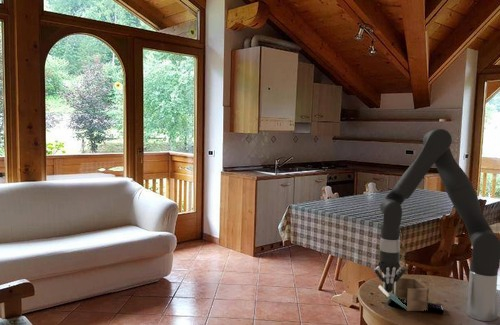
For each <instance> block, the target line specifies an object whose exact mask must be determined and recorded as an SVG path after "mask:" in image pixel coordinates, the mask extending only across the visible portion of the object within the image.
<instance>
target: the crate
mask: <svg viewBox="0 0 500 325" xmlns="http://www.w3.org/2000/svg"><path fill="white" fill-rule="evenodd" d="M429 290H430V289H429V288H428V287H426V285H424V284H423V283H422V282H420V281H419V280H418V279H416V278H414V277H404V278H403V277H400V279H399V280H398V281H397V282H396V283H395V296H396V297H397V298H400V299H405V300H407V309H406V311H407V312H425V311H426V310H427V311H428V308H429V306H428V305H429V292H430V291H429ZM424 310H425V311H424ZM427 311H426V312H427Z"/></svg>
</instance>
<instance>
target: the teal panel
mask: <svg viewBox="0 0 500 325" xmlns="http://www.w3.org/2000/svg"><path fill="white" fill-rule="evenodd" d="M378 289H379V290H380V291H381V292H382V293H383V294H384V295H385V296H386V297H387V298H388V299H389V300H392V301H393V302H395V304H397V305H399V306H400V307H401V308H403V309H405V310H407V306H406V305H405V304H403V303H402V302H401V301H400V300H399V299H398V298H397V297H396V296H395V295H393V294H392V293H390V292H387V291H386V290H385V289H384V288H383V285H380V284H379V285H378Z"/></svg>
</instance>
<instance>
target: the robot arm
mask: <svg viewBox="0 0 500 325" xmlns="http://www.w3.org/2000/svg"><path fill="white" fill-rule="evenodd" d="M452 139H453V138H452V135H451V134H450V132H449V131H448V130H446V129H445V128H444V129H443V128H436V129H432V130H429V131H427V132H426V133H425V135H424V136H423V138H422V145H423V147H422V149H421V150H420V153H419V154H418V155H417V157H416V158H415V160H414V161H413V162H412V163H411V164H410V165H409V167H407V169H406V170H405V172H403V174H402V175H401V177H400V178H399V179H398V181H396V184H395V185H394V187H393V188H392V189H391V190H390V191H389V192H388V194H386V195H385V196H384V198H383V200H382V201H381V203H380V205H379V209H380V211H381V213H382V214H383V220H382V222H383V223H382V224H381V227H380V239H379V246H378V247H379V257H378V258H379V262H378V264H377V266H376V267H373V268H372V271H373V272H374V273H375V275H376V276H377V277H378V279H379V280H380V281H381V282H382V283H383V285H384V289H385V290H386V291H387V292H391V291H392V288H393V282H397V281H398V280H399V279H400V278H402V277H403V275H404V274H405V273H406V269H405V268H403V267H401V264H400V252H401V250H400V247H401V242H400V227H401V222H402V219H403V218H402V216H403V208H402V204H403V203H404V202H405V200H408V199H410V197H411V196H412V195H413V194H414V192H415V191H416V190H417V188H418V187H419V185H420V183H421V182H422V181H423V179H424V177H425V176H426V175H427V173H428V172H429V171H430V169H431V168H432V166H433V165H435V168H436V170H437V171H438V174H439V177H440V181H441V182H442V184H443V186H444V189H445V191H446V194H447V195H448V198H449V200H450V201H451V203H452V205H453V207H454V208H455V210H456V212H457V214H459V217H460V218H461V219H462V222H463V223H464V225H465V226H464V227H465V228H466V230H467V233H468V237H469V241H470V243H471V246H472V253H471V261H470V262H469V275H468V290H467V294H468V295H467V305H466V306H467V309H466V314H467V315H468V316H469V317H470V318H473V319H475V320H477V321H483V322H493V321H495V320H497V319H498V312H499V311H498V310H499V300H500V298H499V297H500V296H499V294H498V293H497V290H498V288H497V287H498V274H499V273H498V272H499V270H500V269H499V268H500V238H499V237H498V236H497V234H496V233H495V232H494V231H493V229H492V227H490V225H489V223H488V222H487V220H486V218H485V216H484V213H483V211H482V208H481V205H480V204H481V203H480V201H479V197H478V195H477V192H476V190H475V188H474V185H473V184H472V181H471V180H470V178H469V177H468V175H467V174H466V172H465V171H464V170H463V168H462V167H461V166H460V165H459V163H457V161H456V159H455V157H454V155H453V152H452V150H451V148H450V147H451V145H452V142H453V141H452ZM397 270H398V271H397ZM382 272H383V274H382ZM396 272H397V273H396ZM395 273H396V274H395ZM383 275H384V278H383Z"/></svg>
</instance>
